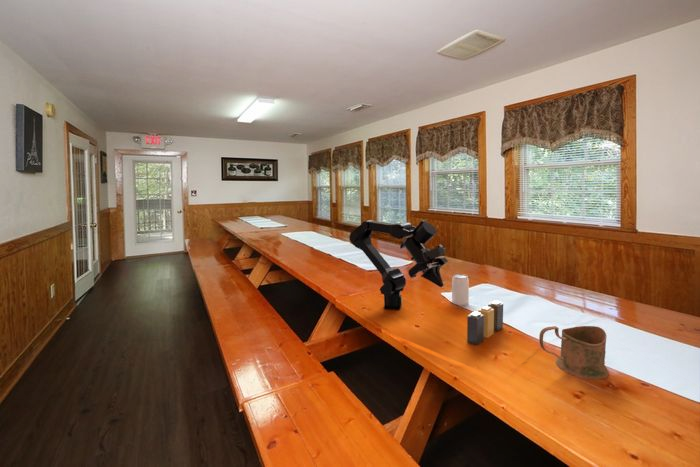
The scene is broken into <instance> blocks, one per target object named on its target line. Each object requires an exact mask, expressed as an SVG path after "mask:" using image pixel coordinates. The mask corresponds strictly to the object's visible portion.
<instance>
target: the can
mask: <svg viewBox="0 0 700 467" xmlns="http://www.w3.org/2000/svg"><path fill="white" fill-rule="evenodd" d="M452 276H453V277H452V279H451V303H452V304H453V305H458V306H465V305H469V303H470V302H469V300H470V298H469V297H470V296H469V295H470V292H469V291H470V287H469V286H470V283H469V282H470V280H469V278H468V277H469V276H468V274H467V275H466V274H464V273H456V274H453V275H452Z"/></svg>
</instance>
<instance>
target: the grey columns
mask: <svg viewBox="0 0 700 467" xmlns="http://www.w3.org/2000/svg"><path fill="white" fill-rule="evenodd" d="M487 306H489V307H491V308H492V309H494V332H499V331H500V330H501V329H503V328H504V303H503V302H501V301H499V300H493V301H491V302H490V303H488V305H487ZM466 318H467V319H466V321H467V323H466V324H467V325H466V326H467V327H466V329H467V332H466V334H467V336H466V342H467V343H469V344H473V345H474V346H479V344H481V343H482V342H484V338H485V337H484V315H483V314H481V313H479V312H478V311H473V312H471V313H470V314H468V315H467V317H466Z"/></svg>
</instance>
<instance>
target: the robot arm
mask: <svg viewBox="0 0 700 467" xmlns="http://www.w3.org/2000/svg"><path fill="white" fill-rule="evenodd" d="M373 232H376V233H377V232H378V233H381V234H382V233H383V234H388V235H390V236H391V237H392V238H395V239H396V240H400V246H399V248H400V249H406V250H407V252H408V253H409V255H410V256H411V257H410V260H411V261H414V262H415V264H414V265H413V266H412V267H411V268H410V269H409V270H408V276H410V278H411V279H414V278H416V277H417V274H419V273H421V272H422V274H421V275H420V277H421V278H424V279H425V280H427V281H429V282H431V283H432V284H434V285H436V286H438V287H440V288H443V287H444V285H445V284H444V282H443V279H442V276H441V270H440V269H441V268H442V267H443V266H445V265H446V264H447V263H448V261H449V260H448V259H447V258H446V257H445V256H446V250H447V249H446V248H445V247H444V246H443V245H442V244H439V245H436V246H435V248H432V249H430V248H429V247H426V248H425V246H424V245H426V244H427V243H428V242H429V241H430V240H432V239H433V238H434V236H435V235H436V234H437V229H436V226H434V225H432V224H431V223H429V222H427V221H426V220H425V219H424V220H421V221H420V222H419V224H417V226H413V225H412V224H411V222H399V223H391V222H385V221H377V220H374V219H368V220H364V221H363V222H362V223H360V225H359V226H357V227H356V228H355V229H354V230H353V231H351V232H350V234H349V240H348V241H349V242H350V243H351V244H352V246H354V247H355V248H356V249H359V250H361V251H362V252H363V253H364V254H365V255H366V257H367V258H368V260H369V261H370V262H371V263H372V264H373V267H375V269H376V270H377V271H378V272H379V274H380V275H381V280H382V284H383V285H382V286H381V287H380V288H379V291H380V294H381V295H383V301H384V302H383V305H384V306H383V310H401V307H402V305H403V303H402V301H403V299H402V296H403V295H402V294H401V292H403V291H404V288H405V287H406V285H407V282H406V281H407V279H406V278H405V274H404V273H402V270H400V268H397V267H395V268H392V267H391V266H390V264H389V263H388V262H387V261H386V259H385V258H384V257H383V255H381V253H380V252H379V251H378V249H376V247H375V245H374V244H372V237H371V236H372V234H373ZM401 239H405V240H402V241H401ZM423 244H424V245H423Z"/></svg>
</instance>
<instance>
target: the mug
mask: <svg viewBox="0 0 700 467" xmlns="http://www.w3.org/2000/svg"><path fill="white" fill-rule="evenodd" d="M552 330H554V334H555V336H556V337H557V338H558V339H559V340H561V341H560V344H561V345H560V355H558V354H556V353H555V352H554V351H552V350H549V349H546V347H545V345H544V335H545V333H546V332H548V331H552ZM559 333H560V332H559V327H558V326H557V325H556V326H548V327H544V328H542V329H541V330H540V332H539V338H538V339H539V345H540V348H541V349H542V350H543V351H545V353H548V354H552V355H553V356H555V357H556V359H555V364H556V365H557V367H558V368H559V369H560V370H562V371H563V372H564V373H567V374H568V375H571V376H574V377H577V378H582V379H586V380H595V381H597V380H602V379H606V378H608V376H609V369H608V368H607V366H606V365H605V364H606V362H605V360H606V352H607V351H606V347H607V346H606V344H607V336H608V335H607V333H606V331H605V330H604V329H603V328H602V327H600V326H596V325H580V326H574V327H573V326H572V327H568V328H562V329H561V336H560V334H559Z"/></svg>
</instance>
